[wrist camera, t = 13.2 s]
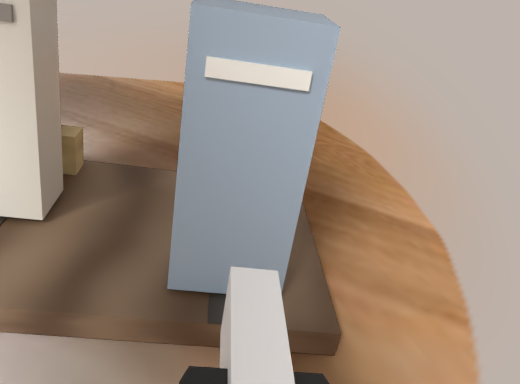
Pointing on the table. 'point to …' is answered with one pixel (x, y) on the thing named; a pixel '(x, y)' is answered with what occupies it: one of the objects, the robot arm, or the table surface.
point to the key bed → (132, 266)
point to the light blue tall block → (245, 138)
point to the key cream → (29, 109)
